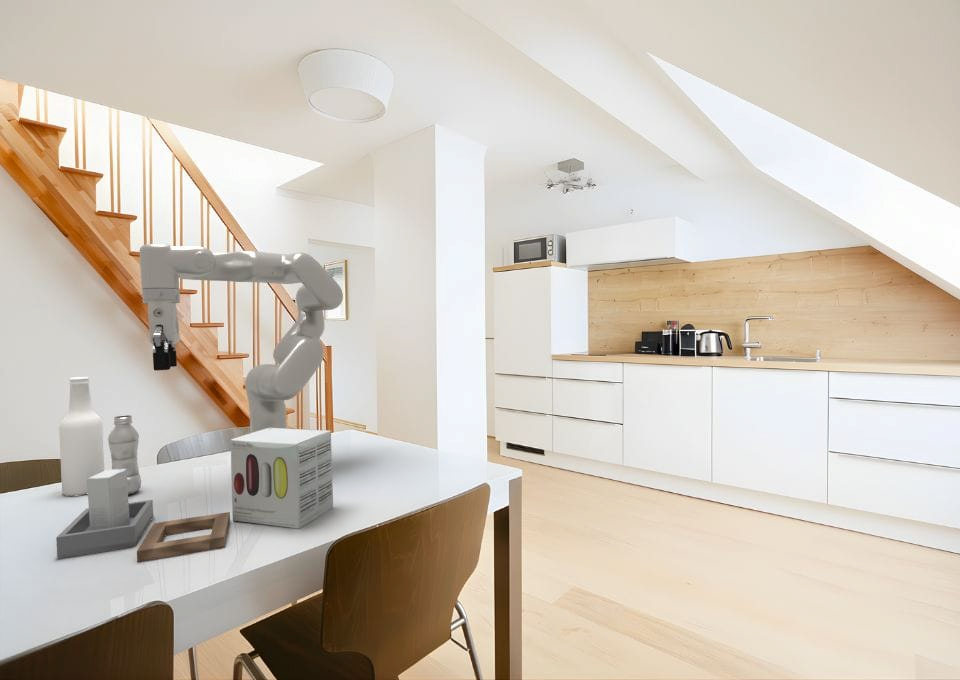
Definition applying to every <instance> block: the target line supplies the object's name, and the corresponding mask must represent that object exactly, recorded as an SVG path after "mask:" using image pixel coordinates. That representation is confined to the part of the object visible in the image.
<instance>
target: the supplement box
mask: <svg viewBox="0 0 960 680" xmlns="http://www.w3.org/2000/svg"><path fill="white" fill-rule="evenodd" d="M332 449H333V448H332V430H329V429H328V430H324V429H323V430H322V429H305V428H304V429H302V428H287V429H286V428H267V429H263V430H260V431H256V432H253V433H250V432H249V433H247V434H244V435H241V436H238V437H234V438H231V439H230V463H231V466H230V470H231V472H230V473H231V501H232V503H231V504H232V505H231V506H232V521H233V522H243V523H253V524H258V525H267V526H274V527H275V526H276V527H283V528H290V529H295V530H296V529H301V528H303V527H305V526H306V525H308V524H310V523H312V522H313V521H314V520H317V518H319V517H320V516H322V515H324V514H325V513H327V512H328V511H329V510H331V509H332V508H334V488H333V487H334V486H333V485H334V484H333V457H332V456H333V455H332Z"/></svg>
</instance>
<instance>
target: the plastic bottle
mask: <svg viewBox="0 0 960 680" xmlns="http://www.w3.org/2000/svg"><path fill="white" fill-rule="evenodd" d="M113 417H114V418H113V425H114V427H113V428H112V430H111V431H110V433H109V435H108V436H107V437H108V438H107V442H108V443H107V444H108V446H109V451H110V457H111V470H113V469H127V482H128V495H132V494H134V493H137V492H139V491H140V489H141V487H142V477H141V475H140V470H139V464H138V463H139V462H138V449H139V438H140V434H139V432H138V430H136V429H135V427H134V426H132V423H133V420H132V419H133V418H132V415H117V416H113Z"/></svg>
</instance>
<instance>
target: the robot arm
mask: <svg viewBox="0 0 960 680" xmlns="http://www.w3.org/2000/svg"><path fill="white" fill-rule="evenodd" d="M139 264H140V280H141V281H140V282H141V294H142V295H141V297H142V304H147V305H148V306H147V307H148V310H147V312H148V332H149V341H150V343H151V344H152V345H153V347H152V362H153V364H152V365H153V370H154V371H169V370H171V368H172V367H173V368H175V367H177V366H178V362H177V361H178V360H177V350H176V344H178V343H180V341H181V338H180V337H181V336H180V326H179V316H178V309H177V308H178V307H177V304H179V303H181V297H180V296H181V295H180V281H179V280H181V279H182V280H189V281H190V280H191V281H210V282H211V281H214V282H219V281H220V282H236V283H257V284H260V283H263V284H264V283H265V284H279V285H280V284H281V285H293V284H294V285H295V284H300V283H301V284H302V285H301V287H299V288H298V290H297V291H296V294H295V301H296V302H295V303H296V307H297V312H298V313H297V318H296V320H295V322H294V324H292V326H291V327H290V328H289V330H288V331H287V332H286V333H285V335H284V336H283V337H282V338H281V339H280V340H279V341H278V343H277V344H276V345H275V347H274V349H273V353H272V357H273V359H274V361H275V363H276V364H268V363H265V364H258V365H256V366H254V367H252V368H251V369H250V371H248V373H247V375H246V378H245V387H244V388H245V392H246V396H247V401H248V409H249V434H250V433H253V432H256V431H260V430H263V429H267V428H286V429H288V427H287V426H288V425H287V421H288V420H287V409H286V404H285V401H288V400H292V399H293V398H295V397H296V396H298V395H299V393H300V392H301V391H302V390H303V389H304V388H305V386H306V385H307V384H308V382H309V381H310V380H311V379H312V377H313V375H314V374H315V373H316V371H317V370H318V369H319V368H320V366H321V364H322V362H323V359H324V355H325V351H324V346H323V344H322V342H321V341H320V338H321V337H322V336H323V334H324V331H325V317H324V313H323V311H331V310H336V309H337V308H338V307H340V306H341V304H342V303H343V299H344V295H343V293H344V292H343V289H342V288H341V286H340V285H339V283H338V282H337V281H336V279H334V278H333V276H332V275H330V273H329V272H328V271H327V270H326V269H325V268H324V266H323V265H321V264H320V262H318V261H317V260H316V259H315V258H314V257H313V256H311V254H308V253H306V252H302V251H301V252H295V253H288V254H282V253H275V252H274V253H272V252H263V251H253V250H237V251H232V252H213V251H211V250H210V249H209V248H207V247H204V246H200V245H183V246H182V245H181V246H180V245H175V246H173V245H169V244H163V243H147V244H143V245H141V247H139Z"/></svg>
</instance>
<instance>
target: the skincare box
mask: <svg viewBox="0 0 960 680" xmlns="http://www.w3.org/2000/svg"><path fill="white" fill-rule="evenodd" d="M87 485H88V494H87V498H88V499H87V501H88V508H89V521H90V531H92V530H99V529H106V528H112V527H119V526H126V525H129V524H130V519H129V503H130V502H129V494H128V482H127V469H113V470H112V469H104V471H103V472H101V473H99V474H96V475H94V476H92V477H90V478H88V479H87Z"/></svg>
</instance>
